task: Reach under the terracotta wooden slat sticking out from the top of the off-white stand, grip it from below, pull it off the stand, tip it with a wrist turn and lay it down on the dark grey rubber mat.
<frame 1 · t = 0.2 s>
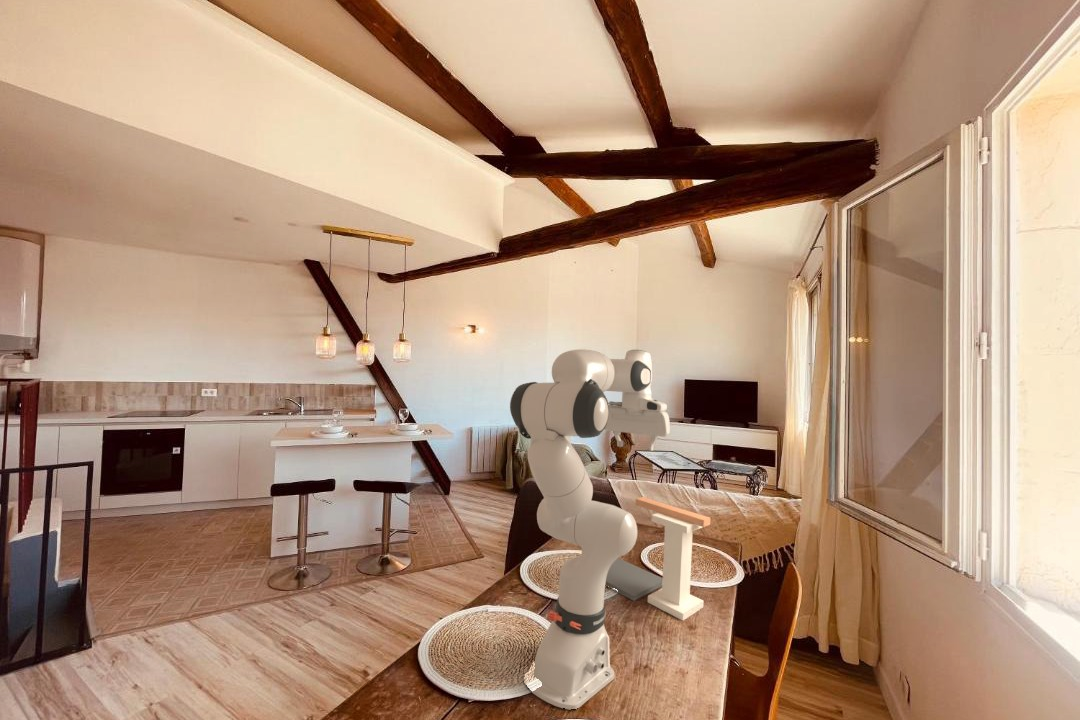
hand: (634, 448, 130), 48 cm above the table, tool pointing down, fingers open, 8 cm apart
stand: (675, 604, 131), on the table
mat: (618, 576, 148), on the table
slat: (670, 514, 134), point 27 cm above the table, touching stand
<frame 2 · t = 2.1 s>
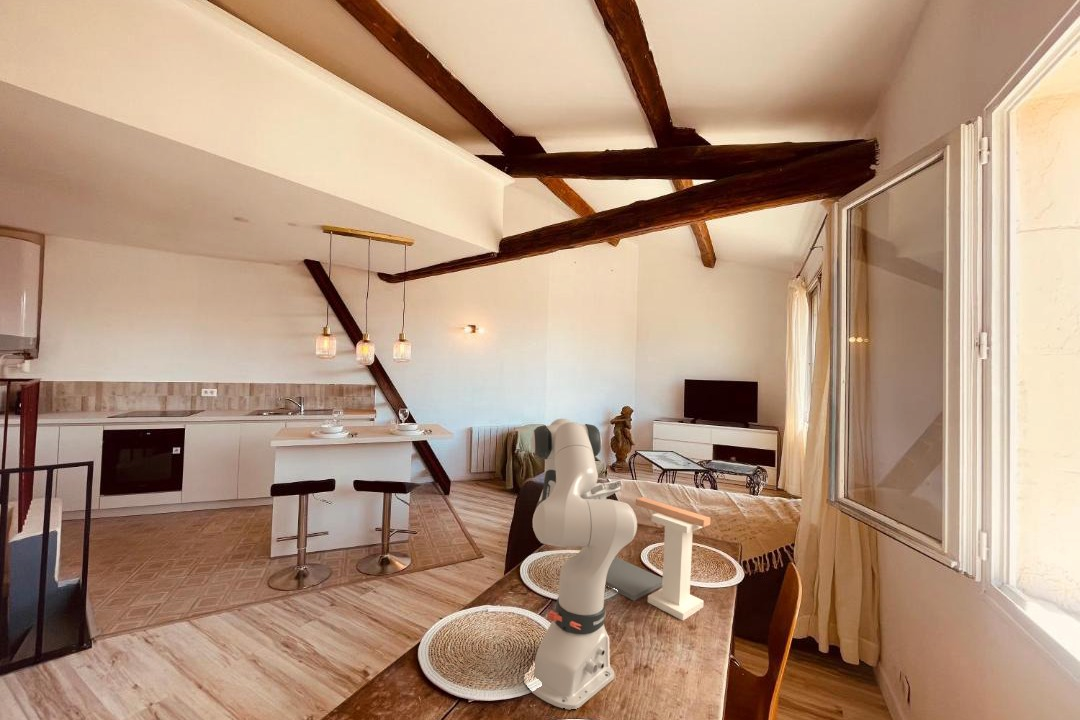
hand: (612, 484, 152), 31 cm above the table, tool pointing upward, fingers open, 8 cm apart
nothing on the table moved.
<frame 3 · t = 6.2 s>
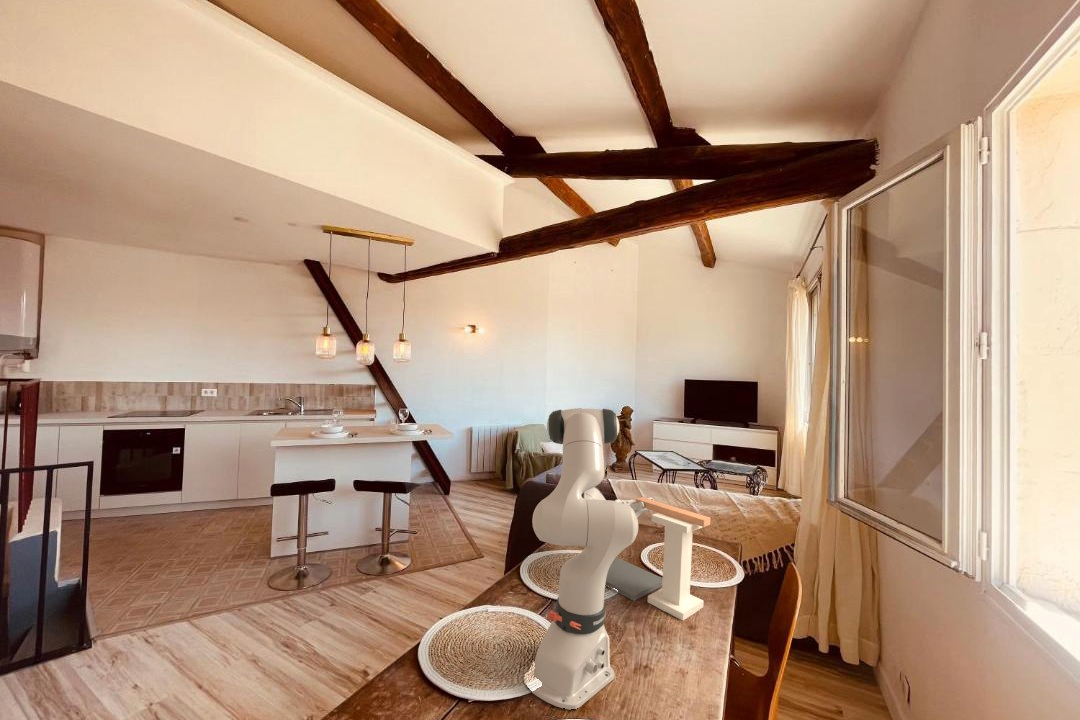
hand: (648, 502, 140), 28 cm above the table, tool pointing upward, fingers closed on slat, 4 cm apart
slat: (670, 514, 134), point 27 cm above the table, touching gripper, stand
everything else where it was.
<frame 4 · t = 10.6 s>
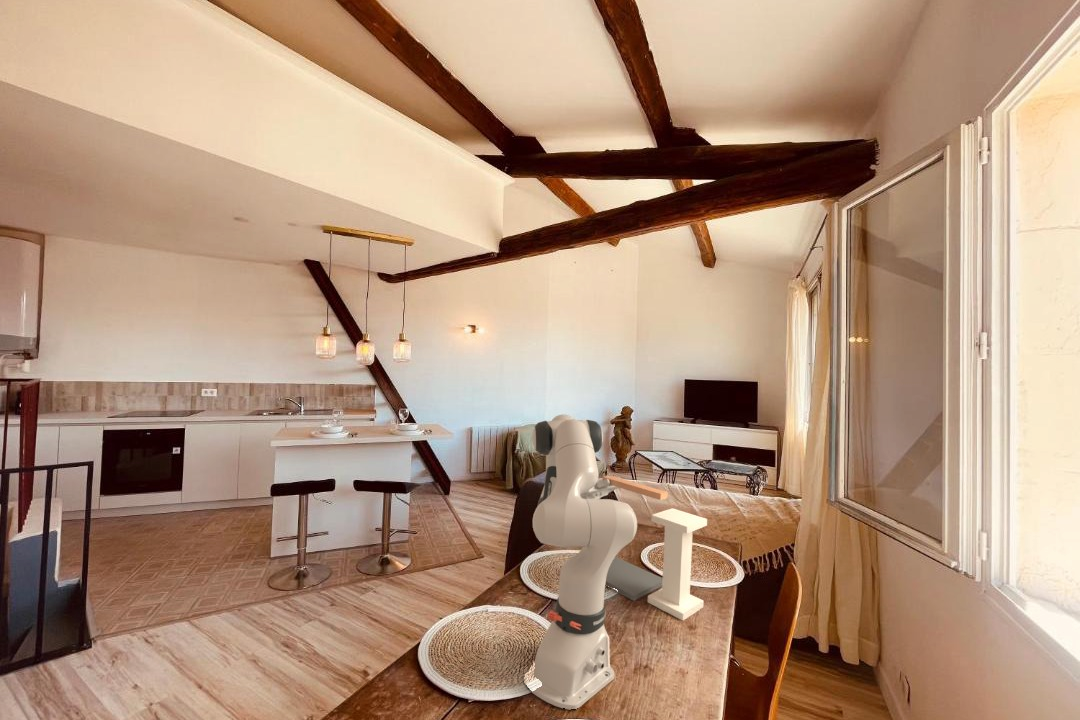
hand: (614, 479, 151), 33 cm above the table, tool pointing upward, fingers closed on slat, 4 cm apart
slat: (633, 489, 145), point 31 cm above the table, touching gripper
everything else where it was.
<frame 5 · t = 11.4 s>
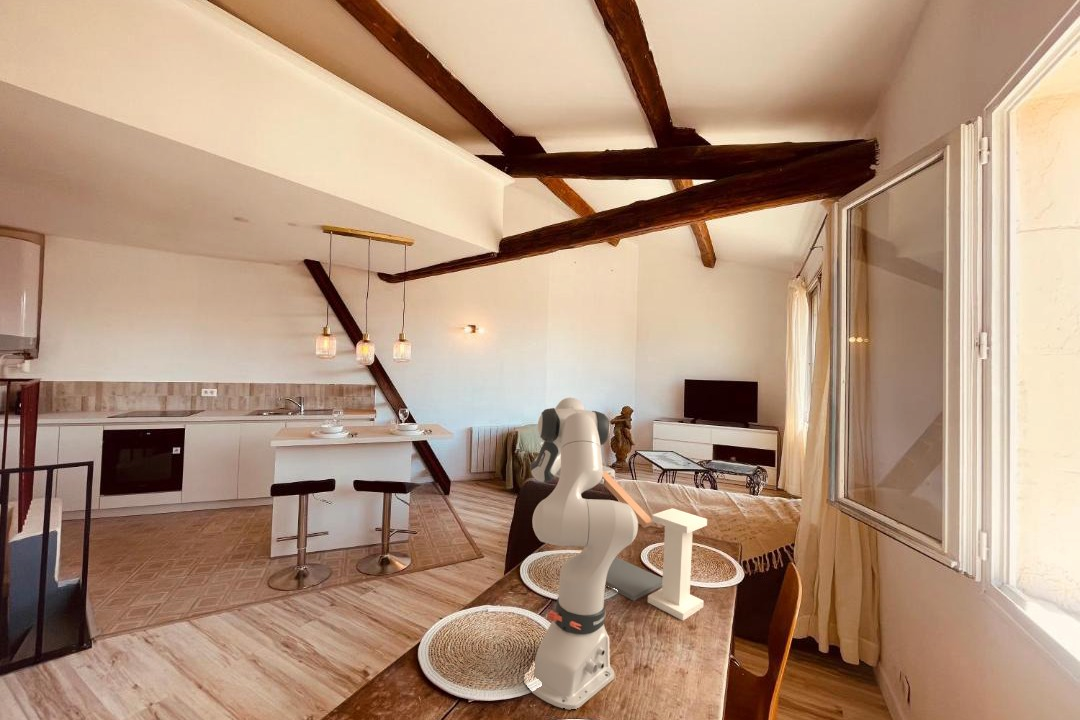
hand: (608, 480, 153), 32 cm above the table, tool horizontal, fingers closed on slat, 4 cm apart
slat: (622, 500, 148), point 26 cm above the table, tilted 30°, touching gripper
everything else where it was.
when the fingers open (14 cm above the table, at t = 14.6 s): slat drops 7 cm, resting on mat.
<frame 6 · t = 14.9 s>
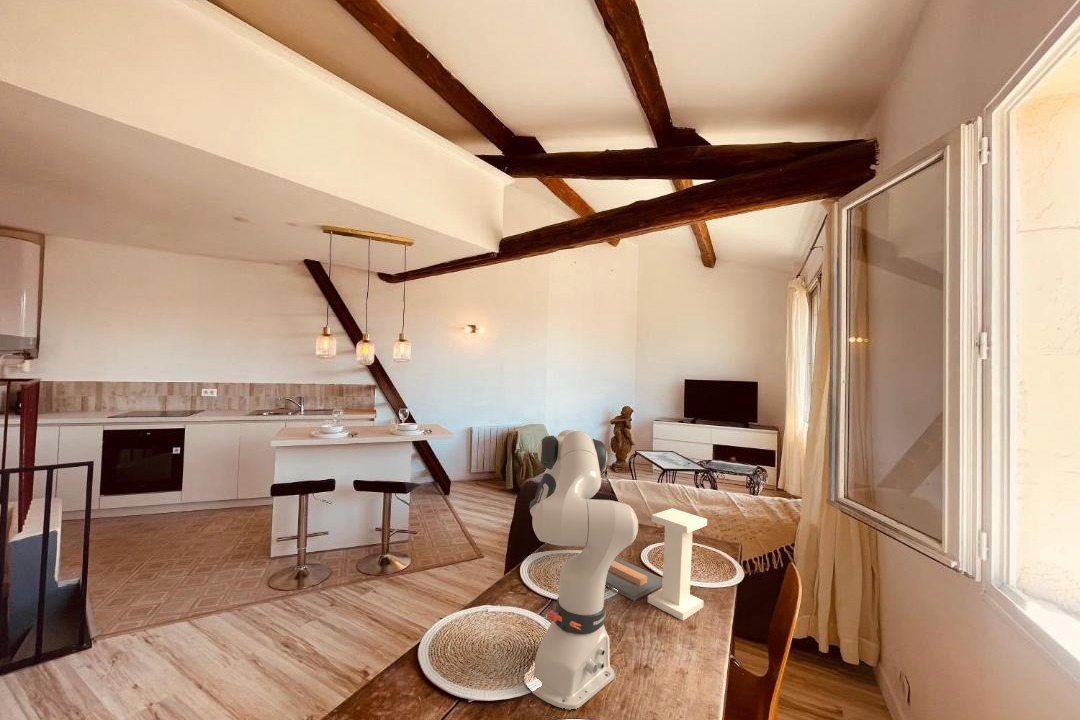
hand: (606, 530, 153), 14 cm above the table, tool horizontal, fingers open, 7 cm apart
slat: (614, 570, 149), point 1 cm above the table, touching mat
everything else where it was.
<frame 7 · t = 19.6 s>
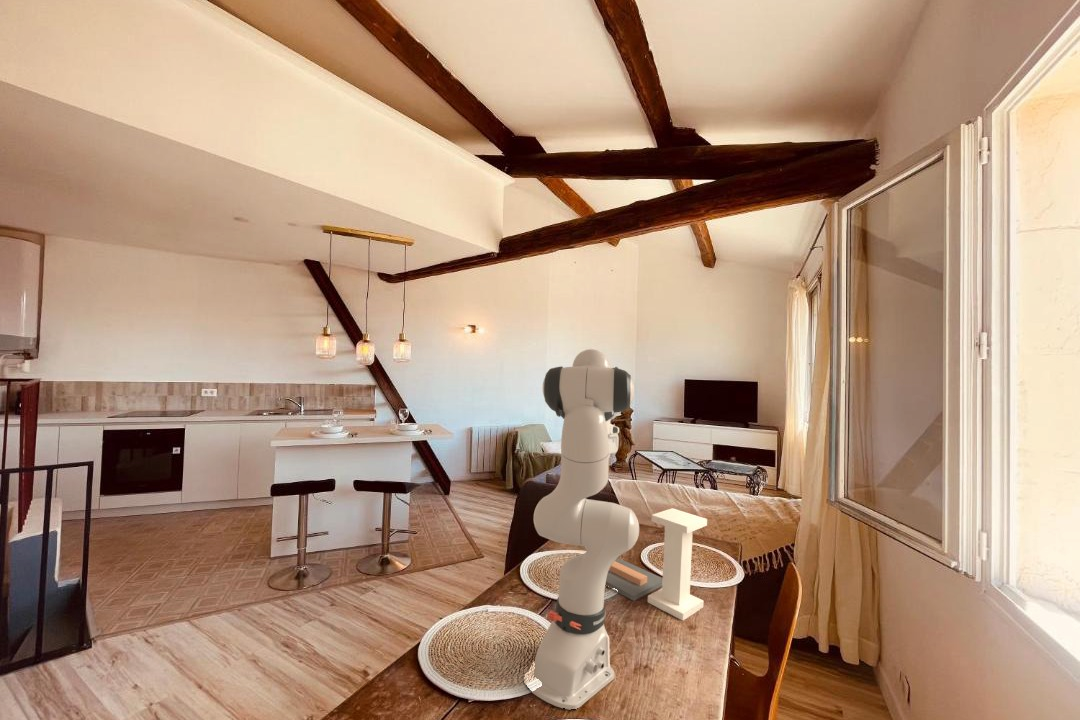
hand: (595, 467, 149), 37 cm above the table, tool pointing down, fingers open, 8 cm apart
nothing on the table moved.
at the end: slat inside the target area on the mat (1.6 cm from its centre), point 1.5 cm above the mat's base; the gripper is holding nothing; slat tilted 0° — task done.
